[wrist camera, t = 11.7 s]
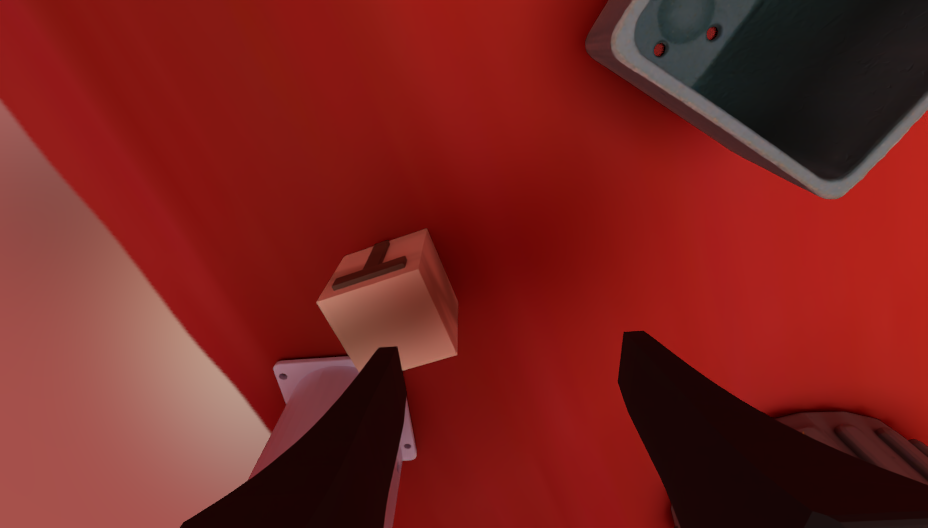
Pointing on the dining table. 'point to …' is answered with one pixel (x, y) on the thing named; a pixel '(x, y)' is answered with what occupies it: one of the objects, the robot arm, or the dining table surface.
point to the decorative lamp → (861, 442)
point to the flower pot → (779, 77)
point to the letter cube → (393, 302)
